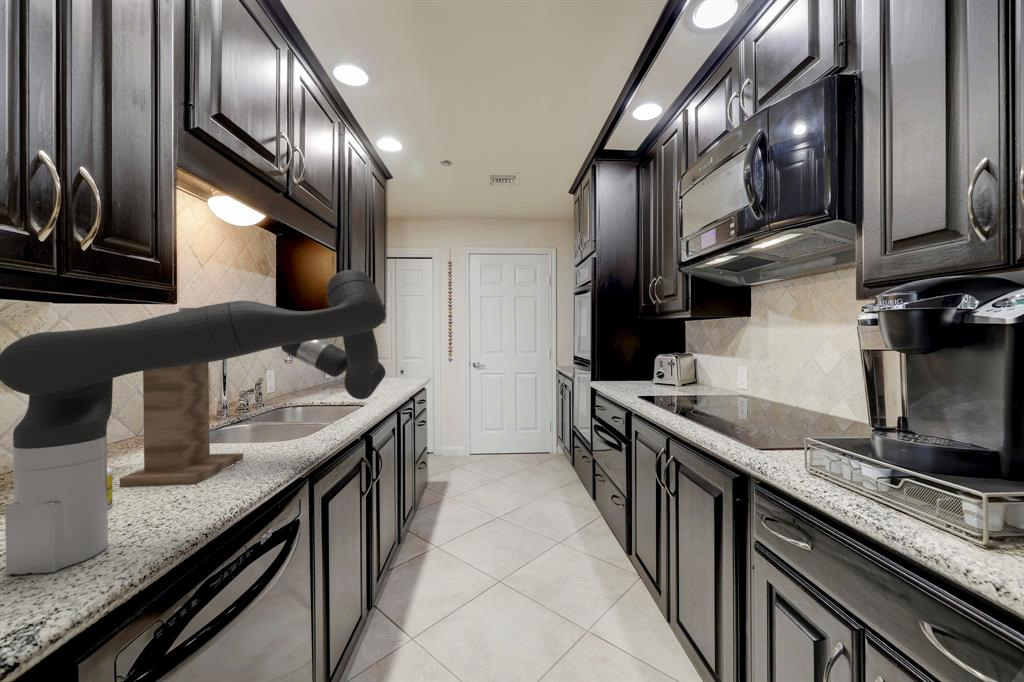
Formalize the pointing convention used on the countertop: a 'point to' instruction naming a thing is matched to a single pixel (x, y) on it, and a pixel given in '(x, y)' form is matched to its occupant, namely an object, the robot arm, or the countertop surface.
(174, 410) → the stand
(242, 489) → the countertop surface
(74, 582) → the countertop surface
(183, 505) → the countertop surface
